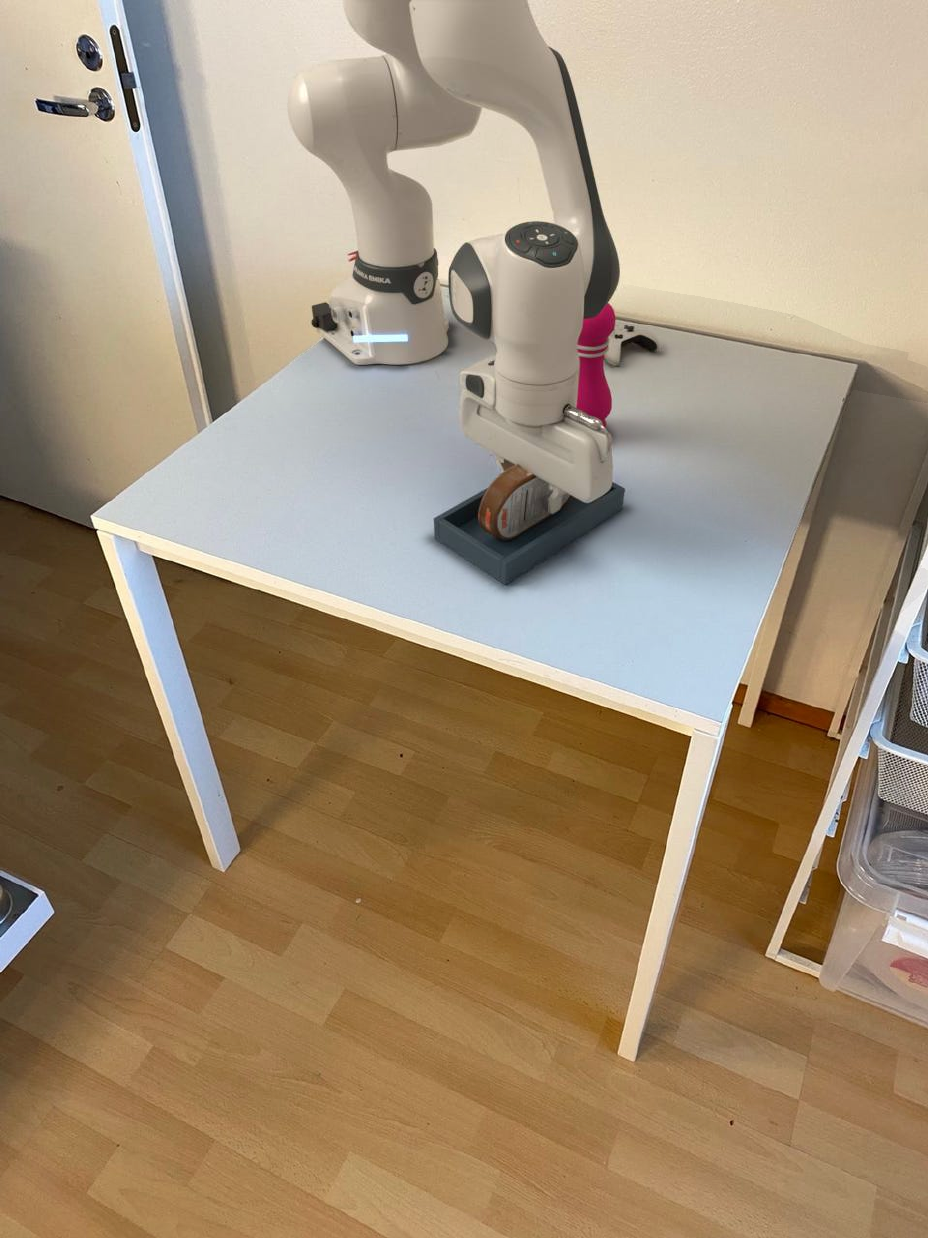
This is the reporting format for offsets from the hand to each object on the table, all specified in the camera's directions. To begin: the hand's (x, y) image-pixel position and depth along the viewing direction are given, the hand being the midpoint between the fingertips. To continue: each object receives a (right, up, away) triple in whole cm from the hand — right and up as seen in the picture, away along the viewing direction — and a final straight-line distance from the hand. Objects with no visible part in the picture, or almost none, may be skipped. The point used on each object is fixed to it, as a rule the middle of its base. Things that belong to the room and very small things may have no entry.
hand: (531, 498), depth 105 cm
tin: (0, -3, +2) cm, 3 cm away
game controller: (+16, +27, +34) cm, 46 cm away
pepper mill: (+8, +11, +17) cm, 22 cm away
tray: (0, -3, +2) cm, 4 cm away
